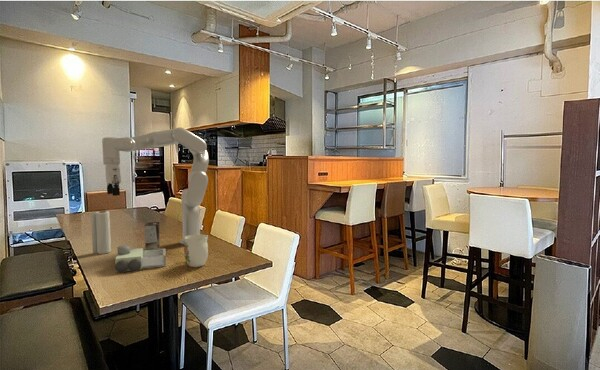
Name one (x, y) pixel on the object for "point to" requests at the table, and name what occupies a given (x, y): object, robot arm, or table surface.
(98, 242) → the grey tall block
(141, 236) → the table surface
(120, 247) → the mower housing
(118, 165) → the robot arm
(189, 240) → the pitcher
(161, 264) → the grey open drawer
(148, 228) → the coffee box
